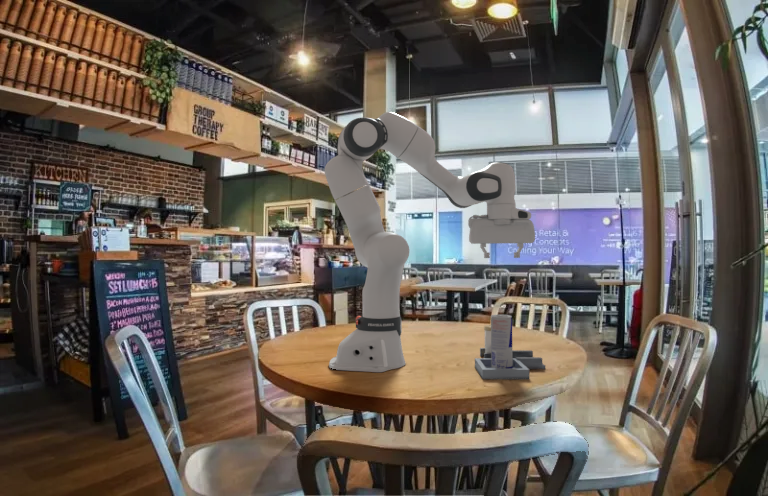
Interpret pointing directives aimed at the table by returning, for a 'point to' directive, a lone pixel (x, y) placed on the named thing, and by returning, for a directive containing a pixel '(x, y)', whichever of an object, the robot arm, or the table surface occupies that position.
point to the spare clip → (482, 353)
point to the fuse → (487, 338)
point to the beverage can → (501, 341)
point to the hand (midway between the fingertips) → (501, 258)
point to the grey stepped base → (528, 359)
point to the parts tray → (501, 370)
